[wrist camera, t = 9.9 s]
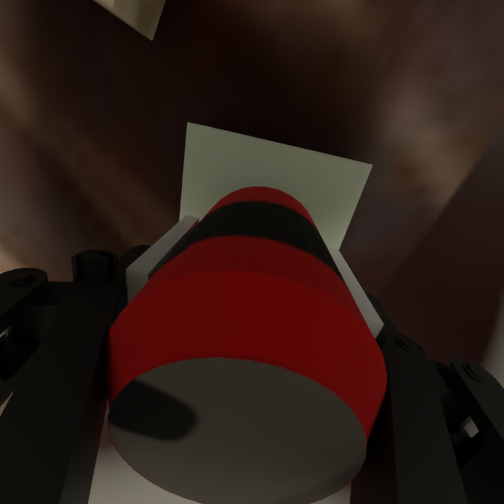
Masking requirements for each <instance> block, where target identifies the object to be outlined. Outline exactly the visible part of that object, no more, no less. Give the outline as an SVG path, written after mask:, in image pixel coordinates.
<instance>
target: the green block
mask: <svg viewBox="0 0 504 504" xmlns="http://www.w3.org/2000/svg"><path fill="white" fill-rule="evenodd" d="M372 166H373V165H371V164H367V163H363V162H359V161H355V160H351V159H347V158H343V157H338V156H334V155H330V154H325V153H321V152H317V151H312V150H308V149H304V148H299V147H295V146H291V145H286V144H282V143H278V142H273V141H269V140H265V139H260V138H256V137H252V136H247V135H243V134H239V133H234V132H230V131H226V130H221V129H217V128H213V127H208V126H204V125H199V124H193V123H188V122H187V133H186V145H185V157H184V169H183V181H182V194H181V206H180V218H179V221H180V220H181V219H183V218H184V217H185V216H186V215H189V216H194V217H198V218H199V222H200V221H201V220H202V219H203V217H204V216H205V215H206V214H207V213H208V212H209V210H210V209H211V208H212V207H213V206H214V205H215V204H216V203H217V202H218V201H219V200H220V199H221V198H223V197H224V196H226V195H228V194H229V193H231V192H233V191H236V190H239V189H241V188H246V187H253V186H262V187H270V188H274V189H278V190H281V191H283V192H285V193H287V194H289V195H291V196H292V197H294V198H295V199H296V200H298V201H299V202H300V203H301V204H302V205H303V206H304V207H305V208H306V210H307V211H308V212H309V214H310V216H311V218H312V219H313V221H314V223H315V225H316V227H317V229H318V231H319V233H320V235H321V237H322V239H323V240H324V242H325V244H326V246H329V247H334V248H337V249H338V250H339V248H340V246H341V243H342V241H343V238H344V236H345V233H346V231H347V228H348V226H349V223H350V221H351V218H352V216H353V213H354V211H355V208H356V206H357V203H358V201H359V198H360V196H361V193H362V191H363V188H364V186H365V183H366V181H367V178H368V176H369V173H370V171H371V168H372Z"/></svg>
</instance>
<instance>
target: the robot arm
mask: <svg viewBox="0 0 504 504" xmlns="http://www.w3.org/2000/svg"><path fill="white" fill-rule="evenodd" d="M198 223H199V218H198V217H194V216H189V215H186V216H185V217H184V218H183V219H181V220H180V221H179V222H178V223H177V224H176V225H175V226H174V227H172V228H171V229H170V230H169V231H168V232H167V233H166V234H165V235H163V236H162V237H161V238H160V239H159V240H158V241H157V242H156V243H155V244H153V245H152V246H147V245H139V246H136V247H133V248H131V249H130V250H129V251H128V252H126V254H124V255H123V256H121V257H120V258H119V259H118V257H117V255H116V254H115V253H113V252H110V251H106V250H88V251H83V252H80V253H78V254H75V255H74V256H73V257H72V258H71V261H72V269H73V277H74V280H73V282H48V277H47V273H46V272H45V271H43V270H40V269H36V268H21V269H20V268H19V269H14V270H11V271H7V272H4V273H2V274H0V334H1V333H2V332H3V331H5V334H4V335H3V336H1V337H0V406H1V405H2V404H3V403H4V401H5V400H6V399H7V398H8V397H9V396H10V395H11V393H12V392H13V391H14V392H13V394H12V396H11V397H10V399H9V401H8V403H7V405H6V407H5V409H4V410H3V412H2V414H1V416H0V504H88V500H89V495H90V489H91V484H92V479H93V474H94V469H95V463H96V458H97V453H98V448H99V443H100V437H101V432H102V427H103V422H104V417H105V412H106V407H107V401H108V393H107V385H106V370H105V354H106V341H107V337H108V333H109V331H110V330H111V328H112V326H113V325H114V323H115V321H116V320H117V318H118V316H119V315H120V313H121V312H122V311H123V310H124V309H125V307H126V306H127V305H128V304H129V303H130V302H131V300H132V299H133V298H134V297H135V296H136V295H137V294H138V292H139V291H140V290H141V289H142V288H143V287H144V285H145V284H146V283H147V282H148V281H149V280H150V279H151V277H152V276H153V275H154V274H155V273H156V272H157V270H158V269H159V268H160V267H161V266H162V265H163V264H164V262H165V261H166V260H167V259H168V258H169V257H170V255H171V254H172V253H173V252H174V251H175V250H176V249H177V247H178V246H179V245H180V244H181V243H182V242H183V240H184V239H185V238H186V237H187V236H188V235H189V234H190V232H191V231H192V230H193V229H194V228H195V227H196V225H197V224H198ZM327 248H328V250H329V252H330V254H331V256H332V258H333V260H334V262H335V264H336V265H337V267H338V269H339V271H340V273H341V275H342V277H343V279H344V281H345V283H346V285H347V287H348V288H349V290H350V292H351V294H352V296H353V298H354V300H355V302H356V304H357V306H358V308H359V310H360V311H361V313H362V315H363V317H364V319H365V321H366V323H367V325H368V327H369V329H370V331H371V333H372V334H373V336H374V338H375V340H376V342H377V344H378V346H379V348H380V350H381V352H382V354H383V358H384V363H385V367H386V372H387V382H386V394H385V397H384V400H383V402H382V405H381V408H380V410H379V413H378V415H377V418H376V421H375V423H374V426H373V428H372V431H371V434H370V436H369V439H368V441H367V449H366V458H365V460H364V463H363V465H362V467H361V470H360V471H359V472H358V474H357V475H356V476H355V477H354V478H353V480H352V483H351V496H350V504H504V388H503V387H502V386H501V385H500V383H499V382H498V381H497V380H496V379H495V378H494V377H493V376H492V375H491V374H490V373H489V372H487V371H486V370H485V369H484V368H483V367H481V366H480V365H477V364H476V363H474V362H471V361H469V360H466V359H462V358H455V359H453V361H452V362H451V363H450V364H449V366H447V365H445V364H443V363H440V362H438V361H435V360H433V359H431V358H429V357H428V354H427V353H426V351H425V349H424V348H423V347H422V346H421V345H420V344H419V343H418V342H417V341H415V340H414V339H412V338H411V337H409V336H407V335H405V334H402V333H399V331H398V330H397V328H396V327H395V325H394V324H393V322H392V321H391V319H390V318H389V316H387V313H386V312H385V310H384V309H383V307H382V306H381V304H380V303H379V301H378V300H377V299H376V298H375V297H374V296H372V295H371V294H370V293H366V292H364V291H363V289H362V288H361V286H360V285H359V283H358V281H357V280H356V278H355V276H354V275H353V273H352V271H351V270H350V268H349V267H348V265H347V263H346V262H345V260H344V258H343V257H342V255H341V253H340V252H339V250H338V249H337V248H334V247H329V246H327ZM472 421H473V422H474V423H475V425H476V427H477V428H478V430H479V432H478V433H477V434H476V435H475V436H474V437H472V438H471V437H470V436H469V434H468V433H467V431H466V429H465V428H466V427H467V426H468V425H469V424H470V423H471V422H472Z"/></svg>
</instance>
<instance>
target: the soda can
mask: <svg viewBox="0 0 504 504" xmlns="http://www.w3.org/2000/svg"><path fill="white" fill-rule="evenodd" d="M105 370H106V385H107V393H108V401H109V409H110V411H109V414H108V431H109V434H110V437H111V439H112V442H113V445H114V446H115V448H116V449H117V451H118V452H119V454H120V455H121V457H122V458H123V459H124V460H125V461H126V462H127V463H128V464H129V465H130V466H131V467H132V468H133V469H134V470H135V471H136V472H137V473H139V474H140V475H142V476H143V477H144V478H146V479H147V480H148V481H150V482H152V483H153V484H155V485H157V486H159V487H161V488H162V489H164V490H166V491H168V492H171V493H174V494H176V495H178V496H181V497H183V498H186V499H189V500H192V501H196V502H199V503H202V504H310V503H313V502H316V501H319V500H322V499H324V498H326V497H328V496H330V495H332V494H334V493H336V492H338V491H339V490H341V489H342V488H343V487H345V486H346V485H347V484H348V483H350V482H351V481H352V480H353V478H354V477H355V476H356V475H357V474H358V472H359V471H360V470H361V467H362V465H363V463H364V460H365V458H366V449H367V441H368V439H369V436H370V434H371V431H372V428H373V426H374V423H375V421H376V418H377V415H378V413H379V410H380V408H381V405H382V402H383V400H384V397H385V394H386V382H387V372H386V367H385V363H384V358H383V354H382V352H381V350H380V348H379V346H378V344H377V342H376V340H375V338H374V336H373V334H372V333H371V331H370V329H369V327H368V325H367V323H366V321H365V319H364V317H363V315H362V313H361V311H360V310H359V308H358V306H357V304H356V302H355V300H354V298H353V296H352V294H351V292H350V290H349V288H348V287H347V285H346V283H345V281H344V279H343V277H342V275H341V273H340V271H339V269H338V267H337V265H336V264H335V262H334V260H333V258H332V256H331V254H330V252H329V250H328V248H327V246H326V244H325V242H324V240H323V239H322V237H321V235H320V233H319V231H318V229H317V227H316V225H315V223H314V221H313V219H312V218H311V216H310V214H309V212H308V211H307V210H306V208H305V207H304V206H303V205H302V204H301V203H300V202H299V201H298V200H296V199H295V198H294V197H292V196H291V195H289V194H287V193H285V192H283V191H281V190H278V189H274V188H270V187H262V186H253V187H246V188H241V189H239V190H236V191H233V192H231V193H229V194H228V195H226V196H224V197H223V198H221V199H220V200H219V201H218V202H217V203H216V204H215V205H214V206H213V207H212V208H211V209H210V210H209V212H208V213H207V214H206V215H205V216H204V217H203V219H202V220H201V221H200V222H199V223H198V224H197V225H196V227H195V228H194V229H193V230H192V231H191V232H190V234H189V235H188V236H187V237H186V238H185V239H184V240H183V242H182V243H181V244H180V245H179V246H178V247H177V249H176V250H175V251H174V252H173V253H172V254H171V255H170V257H169V258H168V259H167V260H166V261H165V262H164V264H163V265H162V266H161V267H160V268H159V269H158V270H157V272H156V273H155V274H154V275H153V276H152V277H151V279H150V280H149V281H148V282H147V283H146V284H145V285H144V287H143V288H142V289H141V290H140V291H139V292H138V294H137V295H136V296H135V297H134V298H133V299H132V300H131V302H130V303H129V304H128V305H127V306H126V307H125V309H124V310H123V311H122V312H121V313H120V315H119V316H118V318H117V320H116V321H115V323H114V325H113V326H112V328H111V330H110V331H109V333H108V337H107V341H106V354H105Z"/></svg>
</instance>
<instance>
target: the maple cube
mask: <svg viewBox="0 0 504 504" xmlns="http://www.w3.org/2000/svg"><path fill="white" fill-rule="evenodd" d="M93 1H95V2H96V3H98V4H99V5H101V6H102V7H104V8H105V9H106V10H108V11H109V12H111V13H112V14H114V15H115V16H117V17H118V18H120V19H121V20H122V21H124V22H125V23H127V24H128V25H130V26H131V27H133V28H134V29H135V30H137V31H138V32H140V33H141V34H143V35H144V36H146V37H147V38H149V39H150V40H151V41H153V38H154V34H155V31H156V28H157V25H158V22H159V19H160V16H161V13H162V10H163V7H164V3H165V0H93Z"/></svg>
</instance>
